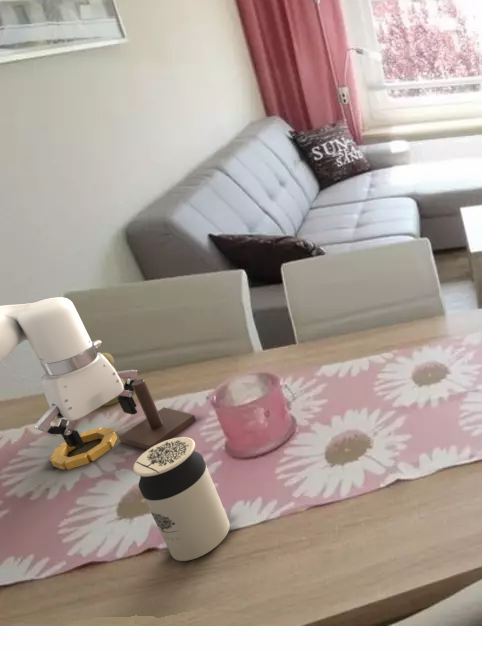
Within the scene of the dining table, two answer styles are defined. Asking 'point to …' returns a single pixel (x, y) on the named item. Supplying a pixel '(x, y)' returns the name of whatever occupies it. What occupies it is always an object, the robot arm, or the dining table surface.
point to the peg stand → (154, 421)
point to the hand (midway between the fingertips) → (105, 428)
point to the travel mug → (182, 498)
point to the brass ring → (108, 441)
